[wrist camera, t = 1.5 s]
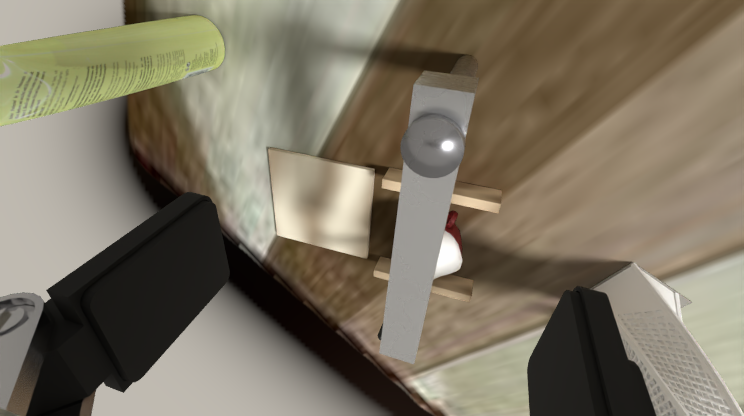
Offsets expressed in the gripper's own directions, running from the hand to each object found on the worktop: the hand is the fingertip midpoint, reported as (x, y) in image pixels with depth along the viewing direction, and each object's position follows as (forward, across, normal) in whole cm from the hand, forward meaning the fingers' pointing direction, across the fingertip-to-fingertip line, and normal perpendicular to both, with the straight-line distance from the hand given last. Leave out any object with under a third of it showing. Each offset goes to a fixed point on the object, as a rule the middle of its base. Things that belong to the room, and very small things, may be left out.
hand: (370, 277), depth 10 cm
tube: (+26, +25, +1) cm, 36 cm away
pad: (+25, +13, +17) cm, 33 cm away
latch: (+25, 0, +7) cm, 26 cm away
